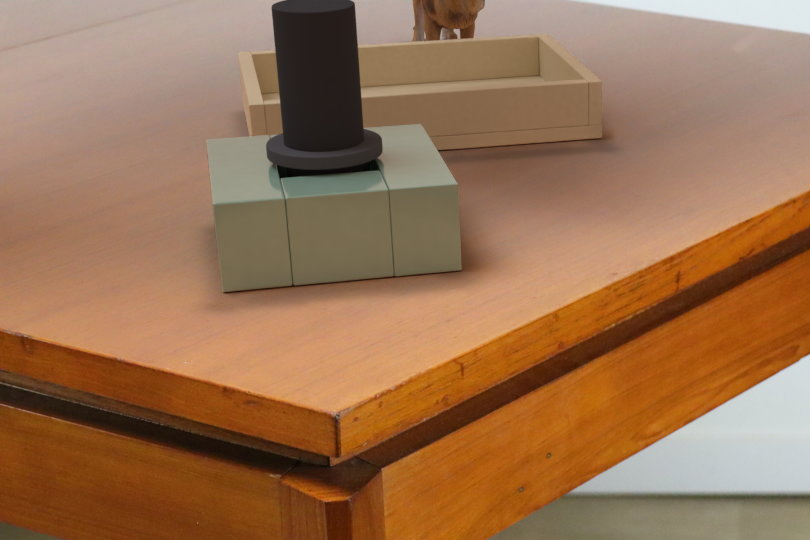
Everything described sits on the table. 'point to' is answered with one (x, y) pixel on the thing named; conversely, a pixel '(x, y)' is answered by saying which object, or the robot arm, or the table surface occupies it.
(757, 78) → the table surface
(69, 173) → the table surface
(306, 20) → the plug
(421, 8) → the lion figurine
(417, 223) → the block
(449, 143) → the wooden tray
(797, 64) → the table surface
